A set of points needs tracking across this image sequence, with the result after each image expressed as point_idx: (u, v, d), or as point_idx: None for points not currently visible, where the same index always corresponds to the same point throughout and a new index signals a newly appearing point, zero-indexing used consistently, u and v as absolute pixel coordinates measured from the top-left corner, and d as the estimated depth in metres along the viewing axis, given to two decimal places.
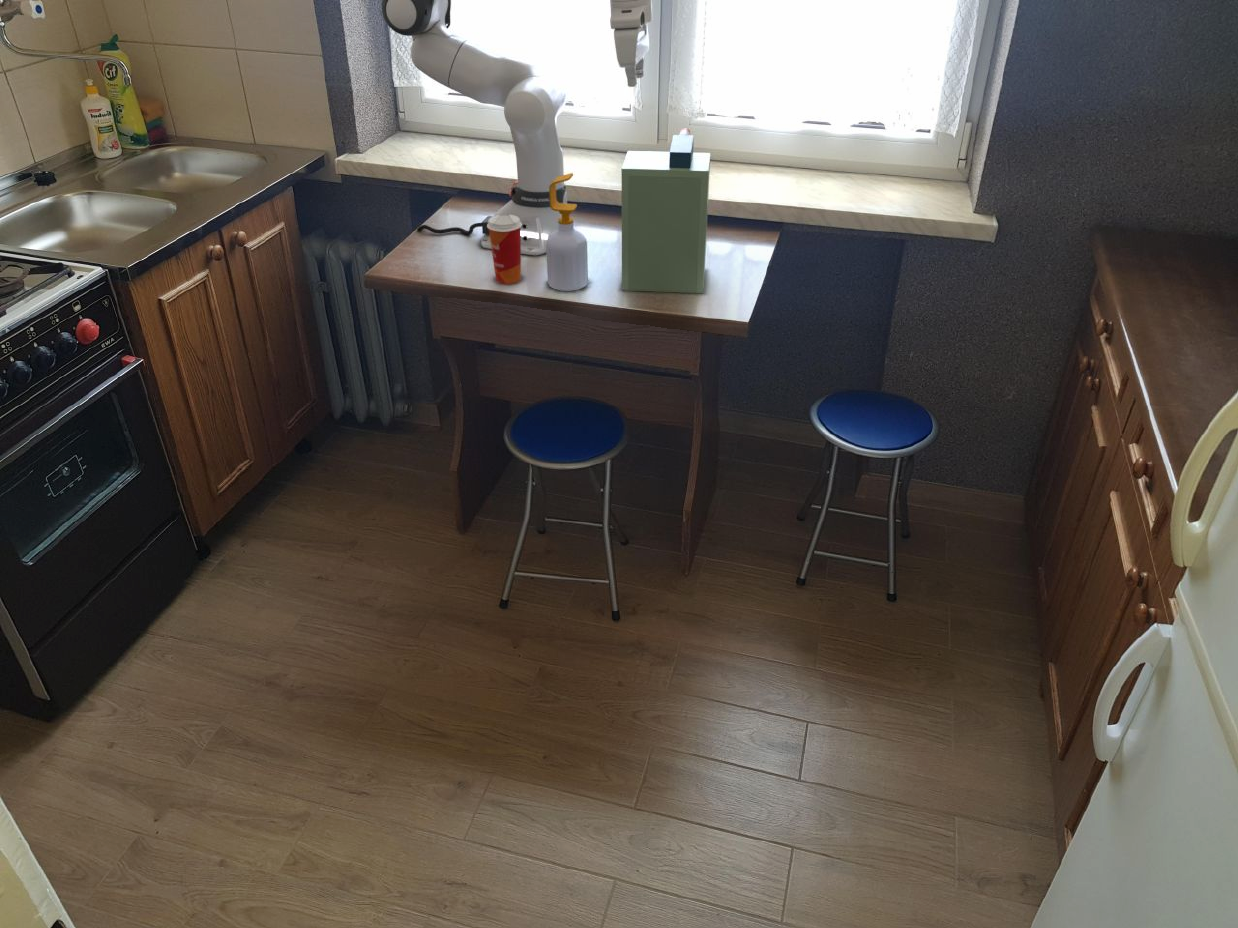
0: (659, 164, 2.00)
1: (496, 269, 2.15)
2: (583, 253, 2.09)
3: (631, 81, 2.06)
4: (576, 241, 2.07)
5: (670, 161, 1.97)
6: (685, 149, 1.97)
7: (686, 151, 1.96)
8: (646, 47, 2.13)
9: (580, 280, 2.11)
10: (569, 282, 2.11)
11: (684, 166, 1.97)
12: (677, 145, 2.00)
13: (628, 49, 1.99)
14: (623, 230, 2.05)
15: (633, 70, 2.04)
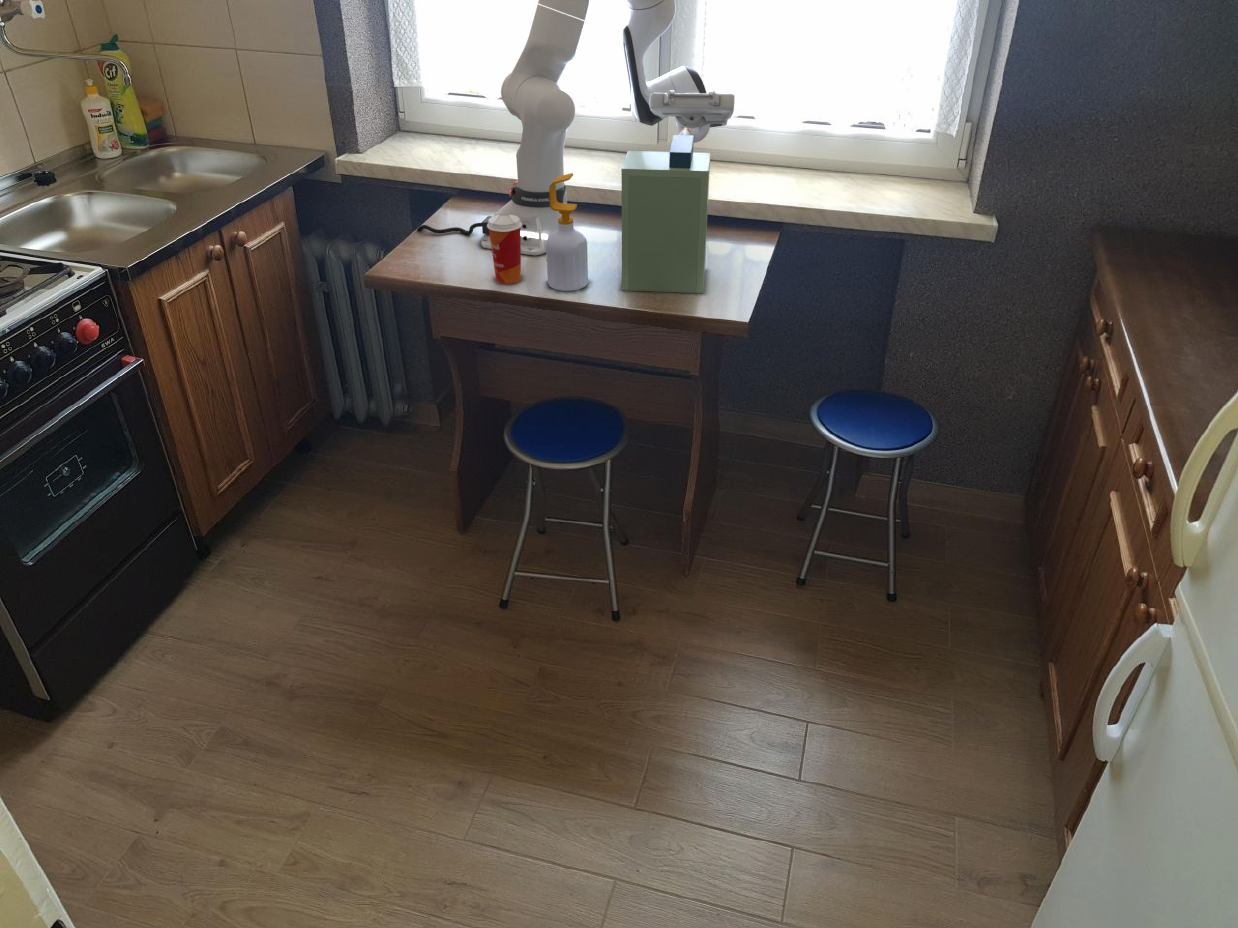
0: (659, 164, 2.00)
1: (496, 269, 2.15)
2: (583, 253, 2.09)
3: (714, 96, 2.22)
4: (576, 241, 2.07)
5: (670, 161, 1.97)
6: (685, 149, 1.97)
7: (686, 151, 1.96)
8: (666, 109, 2.28)
9: (580, 280, 2.11)
10: (569, 282, 2.11)
11: (684, 166, 1.97)
12: (677, 145, 2.00)
13: None
14: (623, 230, 2.05)
15: (719, 102, 2.24)
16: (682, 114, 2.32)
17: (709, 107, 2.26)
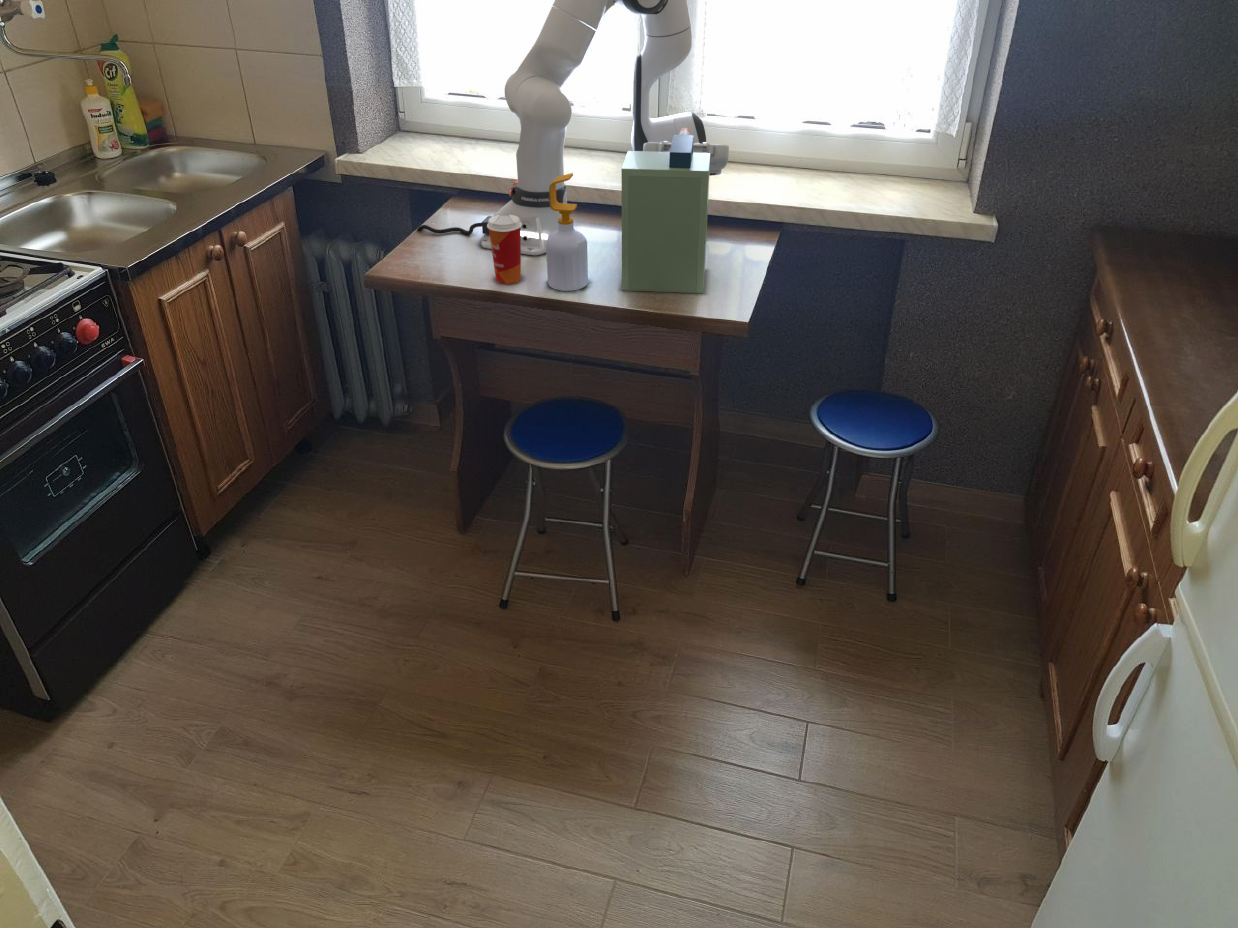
0: (659, 164, 2.00)
1: (496, 269, 2.15)
2: (583, 253, 2.09)
3: (708, 147, 2.20)
4: (576, 241, 2.07)
5: (670, 161, 1.97)
6: (685, 149, 1.97)
7: (686, 151, 1.96)
8: None
9: (580, 280, 2.11)
10: (569, 282, 2.11)
11: (684, 166, 1.97)
12: (677, 145, 2.00)
13: None
14: (623, 230, 2.05)
15: (713, 153, 2.22)
16: None
17: None
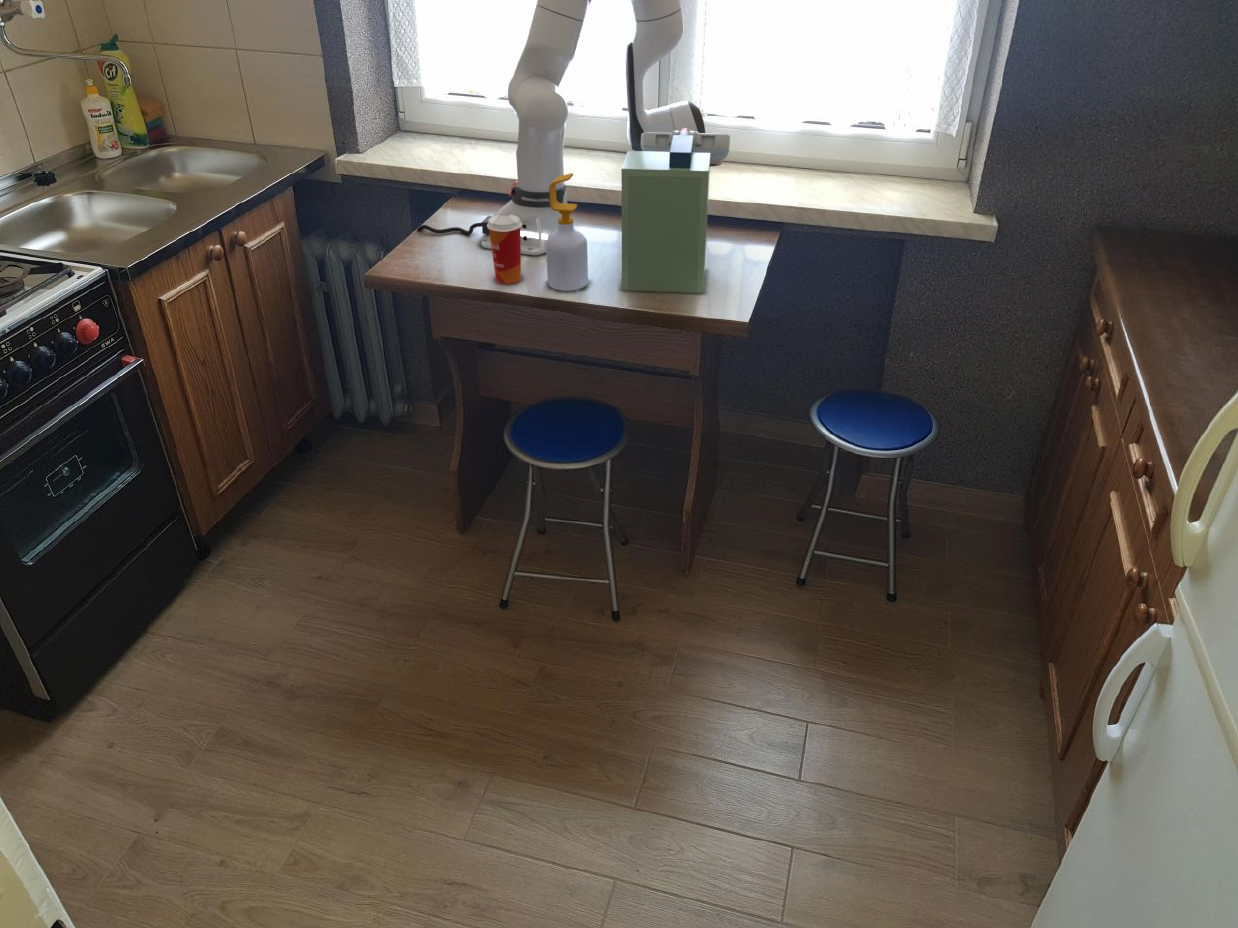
0: (659, 164, 2.00)
1: (496, 269, 2.15)
2: (583, 253, 2.09)
3: (696, 136, 2.12)
4: (576, 241, 2.07)
5: (670, 161, 1.97)
6: (685, 149, 1.97)
7: (686, 151, 1.96)
8: (659, 149, 2.18)
9: (580, 280, 2.11)
10: (569, 282, 2.11)
11: (684, 166, 1.97)
12: (677, 145, 2.00)
13: None
14: (623, 230, 2.05)
15: (700, 143, 2.14)
16: None
17: (703, 147, 2.15)
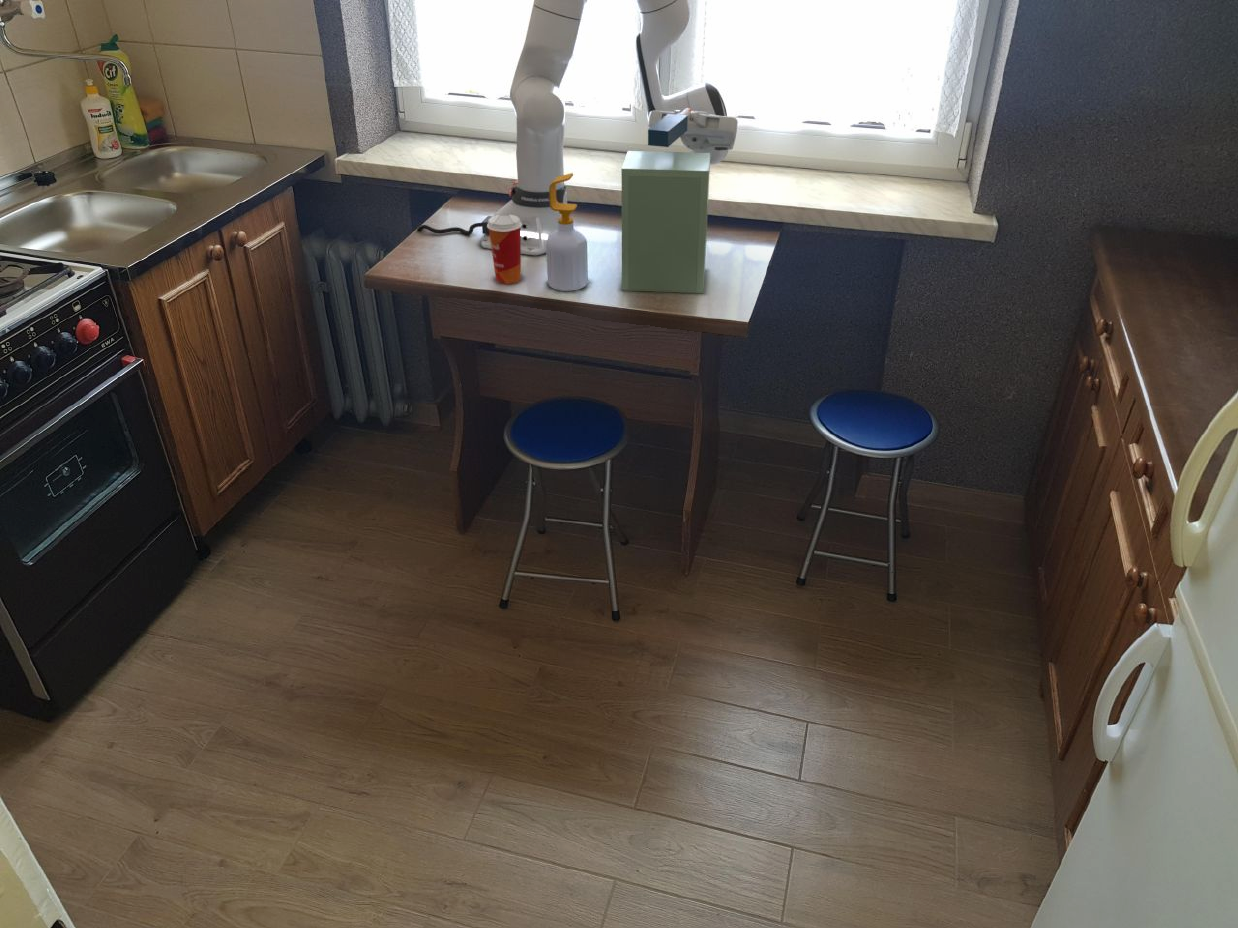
0: (659, 164, 2.00)
1: (496, 269, 2.15)
2: (583, 253, 2.09)
3: (697, 117, 2.09)
4: (576, 241, 2.07)
5: (649, 139, 1.96)
6: (666, 128, 1.96)
7: (665, 129, 1.95)
8: None
9: (580, 280, 2.11)
10: (569, 282, 2.11)
11: (662, 145, 1.96)
12: (662, 123, 1.99)
13: (735, 132, 2.14)
14: (623, 230, 2.05)
15: (703, 124, 2.11)
16: (685, 134, 2.19)
17: (707, 129, 2.12)
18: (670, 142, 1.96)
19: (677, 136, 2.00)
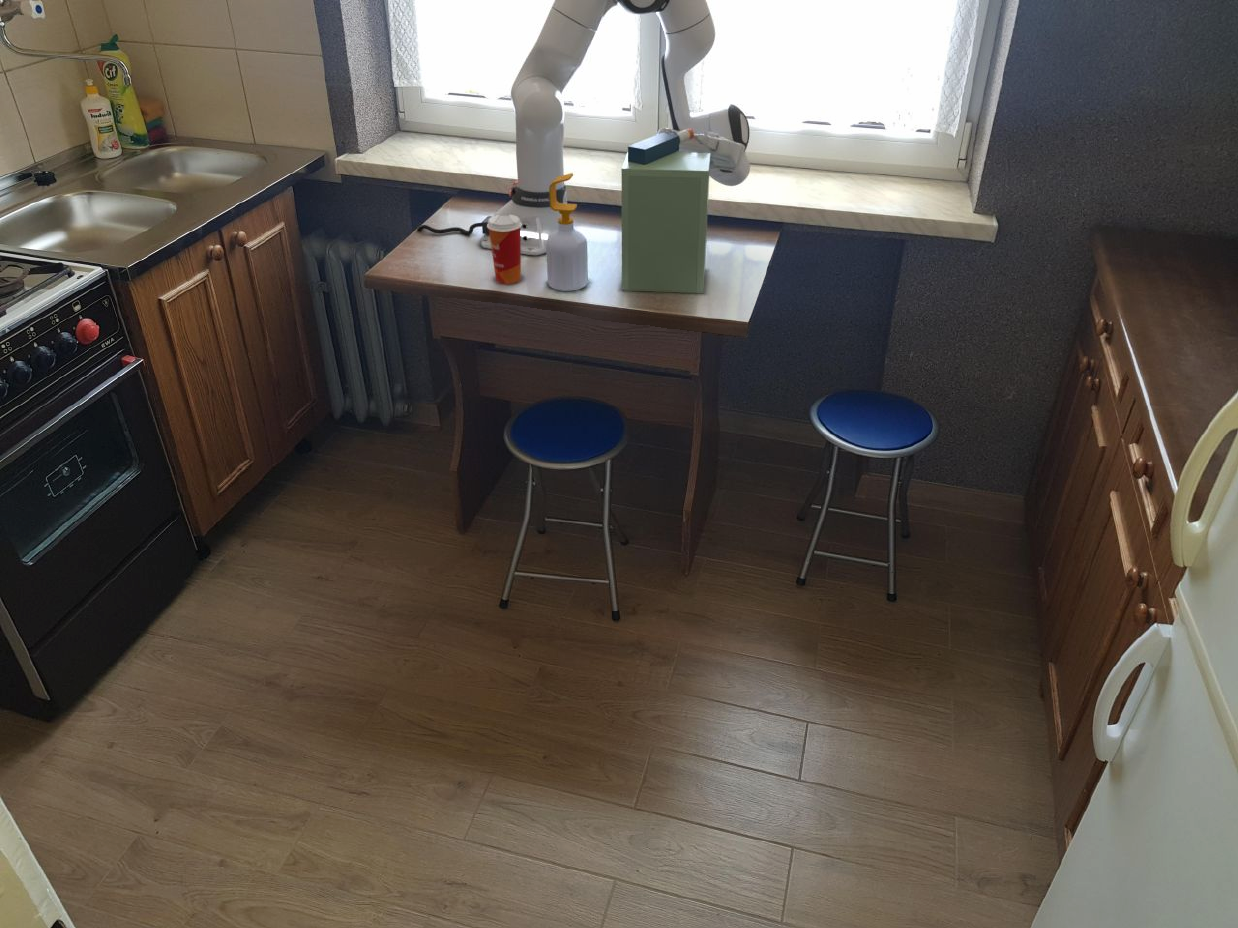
0: (659, 164, 2.00)
1: (496, 269, 2.15)
2: (583, 253, 2.09)
3: (705, 140, 2.09)
4: (576, 241, 2.07)
5: (628, 155, 2.01)
6: (646, 146, 1.99)
7: (643, 147, 1.98)
8: None
9: (580, 280, 2.11)
10: (569, 282, 2.11)
11: (640, 162, 2.00)
12: (647, 141, 2.03)
13: (735, 156, 2.13)
14: (623, 230, 2.05)
15: (713, 148, 2.11)
16: None
17: (706, 151, 2.13)
18: (649, 160, 2.00)
19: (661, 155, 2.03)
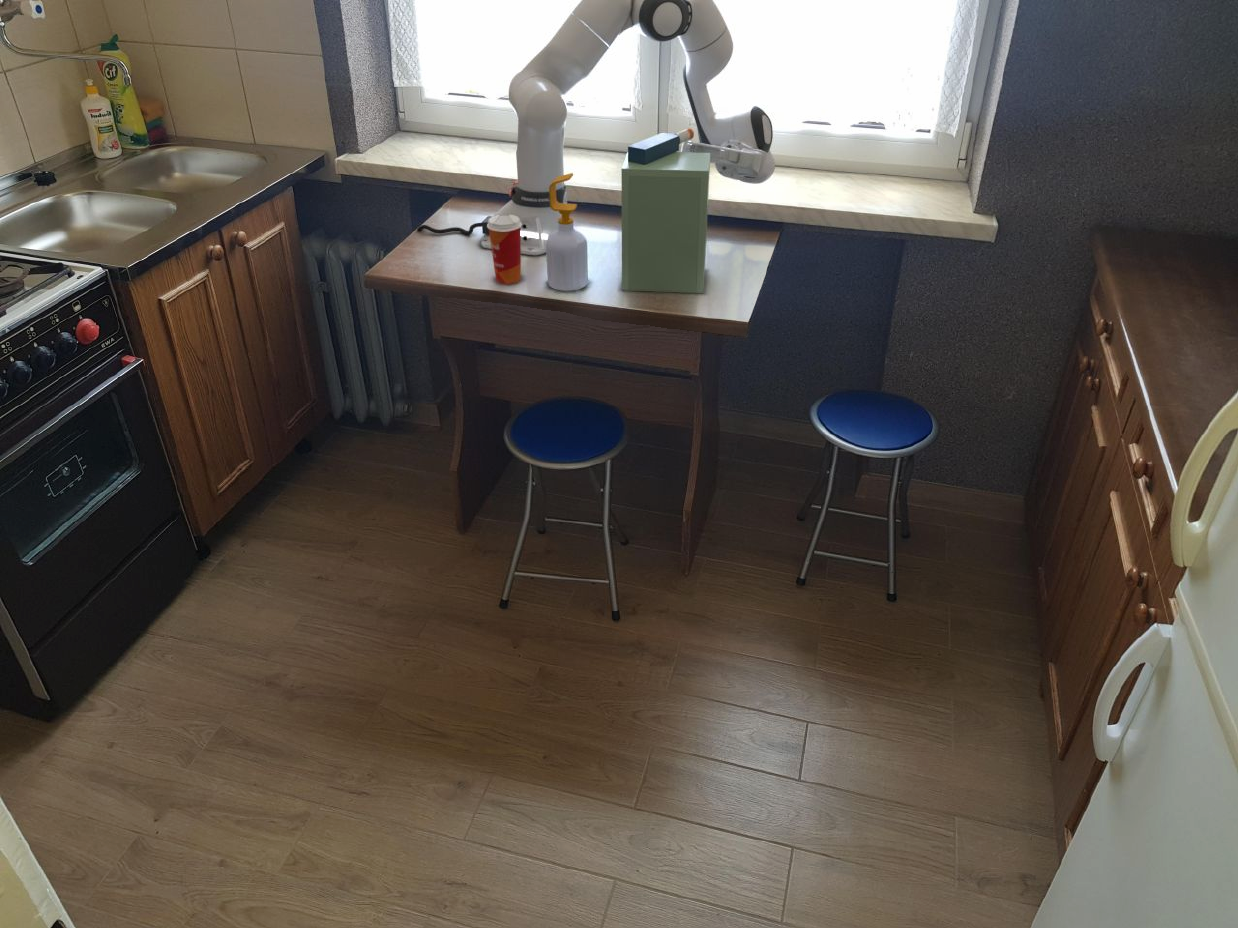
0: (659, 164, 2.00)
1: (496, 269, 2.15)
2: (583, 253, 2.09)
3: (726, 155, 2.20)
4: (576, 241, 2.07)
5: (628, 155, 2.01)
6: (646, 146, 1.99)
7: (643, 147, 1.98)
8: None
9: (580, 280, 2.11)
10: (569, 282, 2.11)
11: (640, 162, 2.00)
12: (647, 141, 2.03)
13: (757, 165, 2.24)
14: (623, 230, 2.05)
15: (734, 161, 2.22)
16: (716, 162, 2.32)
17: (728, 163, 2.24)
18: (649, 160, 2.00)
19: (661, 155, 2.03)
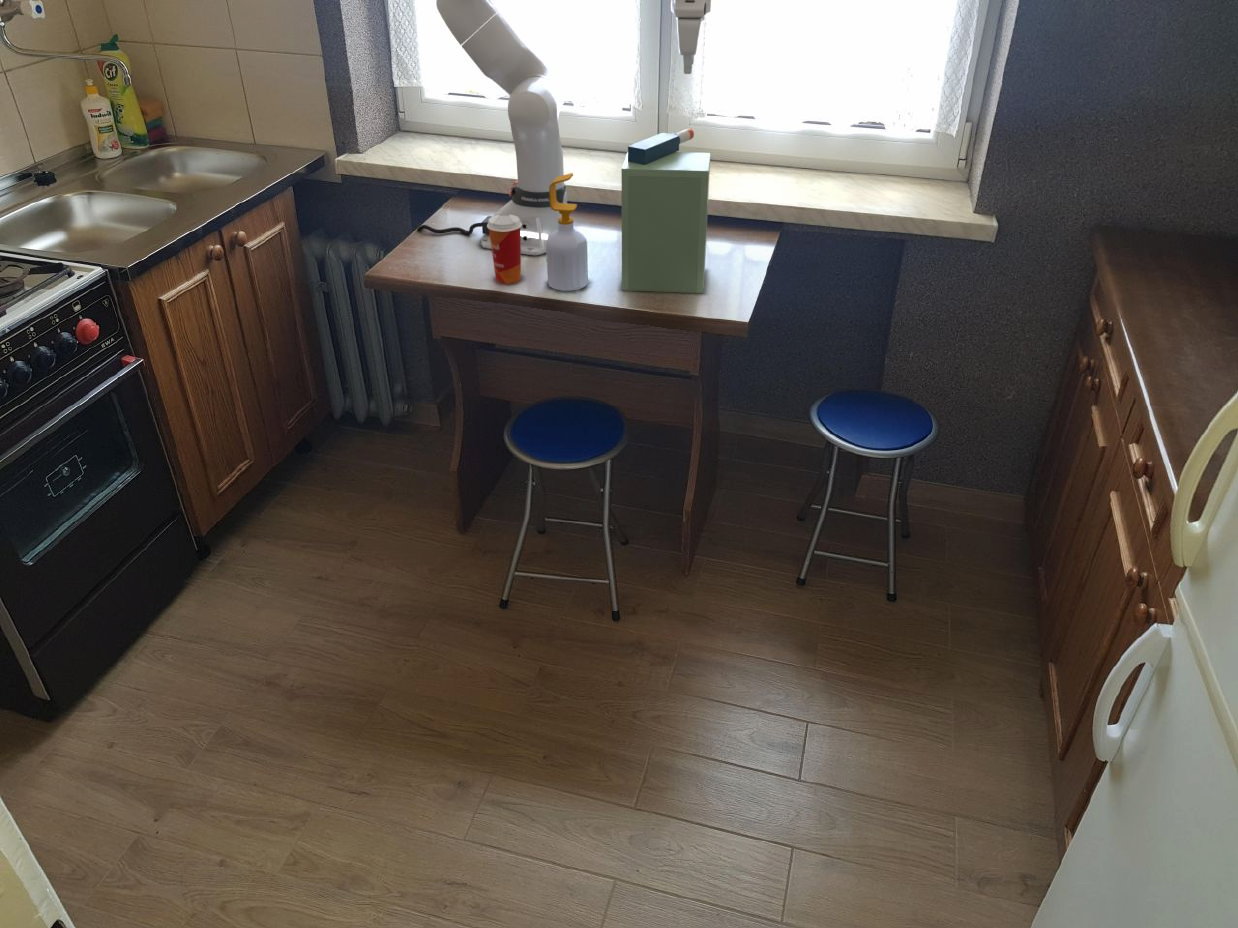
0: (659, 164, 2.00)
1: (496, 269, 2.15)
2: (583, 253, 2.09)
3: (687, 68, 2.15)
4: (576, 241, 2.07)
5: (628, 155, 2.01)
6: (646, 146, 1.99)
7: (643, 147, 1.98)
8: (698, 36, 2.22)
9: (580, 280, 2.11)
10: (569, 282, 2.11)
11: (640, 162, 2.00)
12: (647, 141, 2.03)
13: (690, 38, 2.08)
14: (623, 230, 2.05)
15: (691, 58, 2.13)
16: None
17: None
18: (649, 160, 2.00)
19: (661, 155, 2.03)
